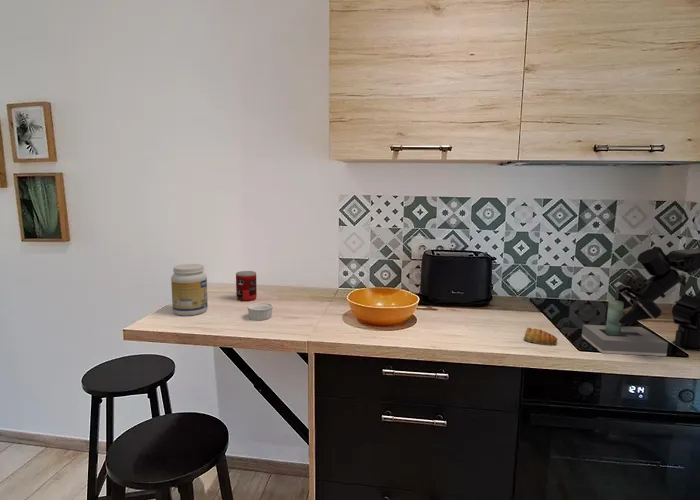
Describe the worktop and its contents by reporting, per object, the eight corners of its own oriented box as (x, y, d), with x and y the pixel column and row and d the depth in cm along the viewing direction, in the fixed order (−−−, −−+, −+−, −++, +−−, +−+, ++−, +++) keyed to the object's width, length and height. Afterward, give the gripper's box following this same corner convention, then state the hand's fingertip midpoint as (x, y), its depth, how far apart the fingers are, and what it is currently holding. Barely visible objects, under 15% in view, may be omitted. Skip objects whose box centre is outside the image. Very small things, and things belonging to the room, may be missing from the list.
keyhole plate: (639, 339, 144) (641, 327, 144) (666, 356, 130) (668, 343, 130) (581, 336, 146) (582, 324, 145) (601, 353, 132) (603, 340, 131)
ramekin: (249, 322, 154) (249, 310, 153) (245, 315, 162) (245, 303, 161) (275, 320, 157) (275, 308, 156) (270, 312, 165) (270, 301, 164)
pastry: (558, 341, 141) (559, 330, 141) (555, 348, 136) (556, 336, 135) (526, 335, 146) (527, 324, 145) (522, 342, 140) (523, 330, 140)
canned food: (235, 297, 184) (235, 271, 182) (255, 296, 187) (255, 270, 185) (237, 302, 177) (236, 275, 175) (257, 301, 179) (257, 274, 178)
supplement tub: (210, 314, 162) (208, 268, 159) (174, 318, 156) (171, 270, 154) (205, 305, 172) (203, 262, 170) (171, 308, 167) (169, 264, 164)
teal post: (612, 340, 140) (617, 299, 138) (622, 344, 137) (627, 303, 134) (601, 340, 140) (605, 300, 138) (611, 345, 136) (615, 303, 134)
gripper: (626, 259, 142) (585, 291, 146) (654, 271, 124) (607, 307, 128) (650, 284, 142) (608, 316, 146) (682, 300, 124) (634, 335, 128)
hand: (613, 317), depth 137 cm, fingers open, 9 cm apart
